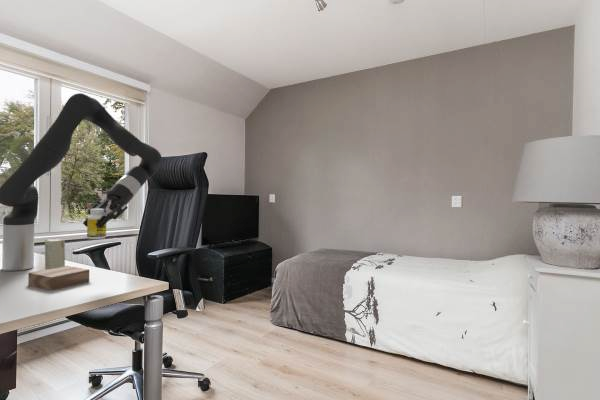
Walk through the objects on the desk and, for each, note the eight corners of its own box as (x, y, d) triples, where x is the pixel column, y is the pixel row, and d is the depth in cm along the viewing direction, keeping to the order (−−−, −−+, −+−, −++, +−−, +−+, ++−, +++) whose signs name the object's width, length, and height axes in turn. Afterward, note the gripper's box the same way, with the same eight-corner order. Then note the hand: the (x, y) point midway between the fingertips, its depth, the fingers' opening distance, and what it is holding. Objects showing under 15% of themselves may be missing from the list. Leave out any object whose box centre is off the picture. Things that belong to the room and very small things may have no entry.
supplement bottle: (97, 239, 107) (97, 209, 107) (82, 238, 108) (83, 208, 108) (109, 237, 113) (110, 208, 112) (96, 236, 114) (96, 208, 113)
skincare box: (65, 272, 124) (65, 240, 124) (51, 274, 121) (52, 241, 120) (57, 269, 128) (58, 238, 128) (44, 272, 124) (44, 239, 124)
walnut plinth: (28, 284, 107) (28, 272, 107) (66, 276, 119) (66, 265, 118) (51, 290, 103) (51, 277, 103) (89, 281, 114) (89, 269, 114)
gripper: (103, 182, 120) (69, 217, 109) (132, 183, 114) (99, 220, 103) (116, 196, 125) (84, 231, 114) (144, 198, 119) (114, 235, 108)
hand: (91, 225), depth 109 cm, fingers closed on supplement bottle, 5 cm apart
